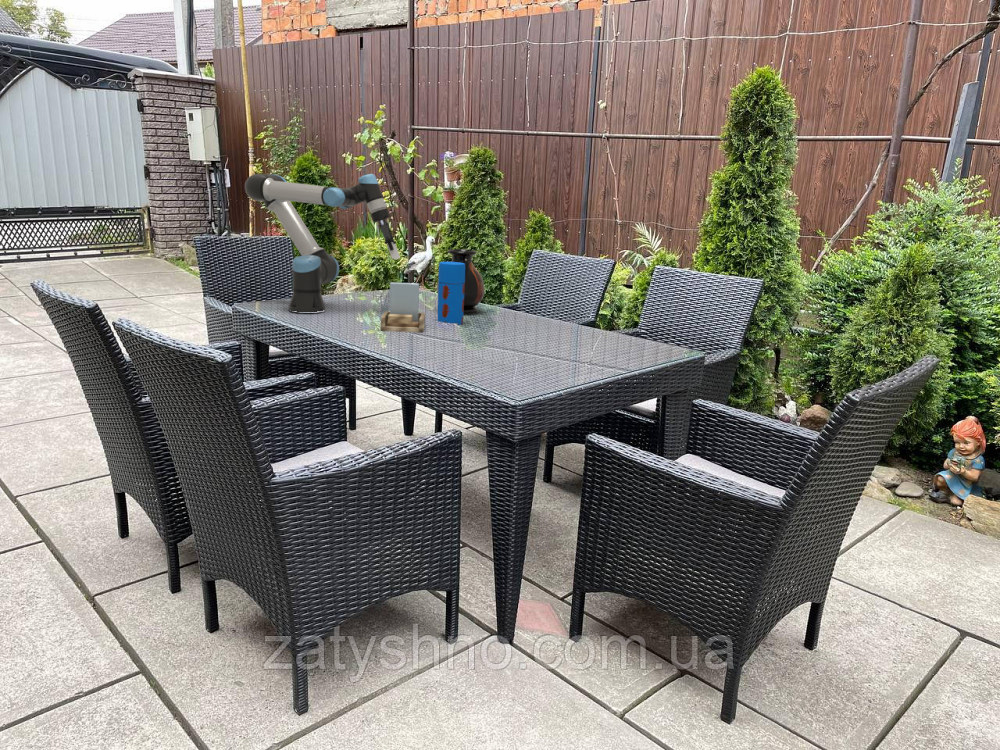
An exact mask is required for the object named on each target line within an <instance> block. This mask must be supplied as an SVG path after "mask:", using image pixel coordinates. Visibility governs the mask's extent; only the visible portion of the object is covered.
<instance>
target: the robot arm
mask: <svg viewBox="0 0 1000 750" xmlns="http://www.w3.org/2000/svg"><path fill="white" fill-rule="evenodd" d="M357 181H358V184H356V185H352V186H350V187H333V186H324V185H323V186H321V185H316V184H315V185H314V184H307V183H300V182H299V183H297V182H296V183H295V182H288V181H287V180H286V179H285V178H284V177H282V176H281V175H279V174H278V175H277V174H273V173H270V174H269V173H268V174H266V173H255V174H251V175H250V176H249V177H247V179H246V180H245V182H244V190H245V193H246V195H247V196H248V198H250V199H251V200H253V201H255V202H263V204H264V205H265V207H266V208H267V210H268V211H271V212H273V213H274V214H275V216H276V218H277V219H278V220H279V222H280V224H281V225H282V227H283V229H284V230H285V232H286V233H287V235H288V237H289V238H290V239H291V241H292V243H293V244H294V246H295V248H296V249H297V251H298V252H299V254H300V255H299V256H296V257H295V258H293V260H292V265H291V270H292V295H291V299H290V302H289V306H288V311H289V310H291V311H297V312H317V311H323V310H325V311H326V305H325V302H324V298H323V297H322V290H321V289H322V285H324V284H330V283H331V282H334V281H335V280H336V279H337V278H338V276H339V273H340V265H339V262H338V260H337V259H336V258H335V257H333V256H331V255H329V253H327V251H326V249H325V248H323V247H320V246H319V244H318V243H317V241H316V240H315V238H314V237H313V235H312V233H311V231H310V230H309V228H308V227H307V226H306V224H305V222H304V221H303V219H302V217H301V216H300V215H299V213H298V211H297V209H296V208H295V207H294V205H293V203H292V202H295V203H296V202H297V203H306V204H314V205H322V206H329V207H333V208H336V207H339V208H341V209H342V210H347V209H351V208H352V207H355V206H357V205H360V204H361V203H364V202H366V206H367V208H368V211H369V213H371V214H370V216H371V219H372V222H373V223H378V224H379V225H378V226H379V229H380V231H381V233H382V235H383V238H384V242H383V243H384V244H385V245H386V246H387V248H388V251H389V254H390V257H391V259H392V260H394V261H396V260H398V259H401V256H400V253H399V250H398V247H397V241H396V240H394V238H393V235H392V233H391V232H392V230H391V228H390V223H389V222H388V221H386V220H387V219H389V218H390V217H391V215H390V212H389V210H388V208H387V204H386V203H387V200H386V199H384V196H383V194H382V190H381V187H380V185H379V182H378V179H377V177H376V175H375V174H373V173H369V174H364V175H362V176H360V177H358V180H357Z"/></svg>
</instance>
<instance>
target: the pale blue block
mask: <svg viewBox="0 0 1000 750" xmlns="http://www.w3.org/2000/svg"><path fill="white" fill-rule="evenodd" d="M419 304H420V283H414V282H413V283H412V282H394V281H393V282H389V311H390V314H406V315H413V320H412V322H418V313H420V312H419V308H420V306H419Z"/></svg>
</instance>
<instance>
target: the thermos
mask: <svg viewBox="0 0 1000 750" xmlns="http://www.w3.org/2000/svg"><path fill="white" fill-rule="evenodd" d="M437 280H438V281H439V282H438V281H437V285H438V293H437V321H438V322H440V323H445V324H457V326H461V325H463V323H464V315H465V314H464V289H465V263H460V262H452V261H441V262H439V265H438V279H437Z"/></svg>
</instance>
